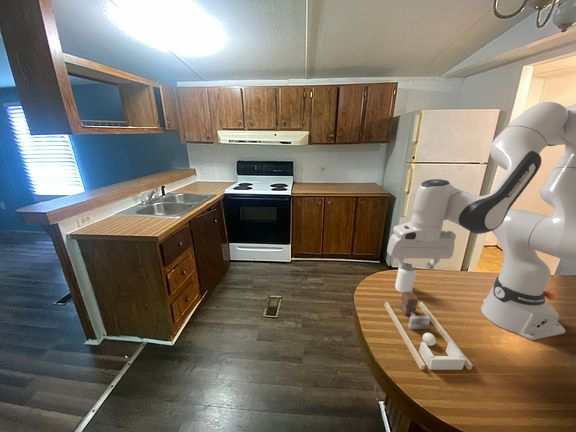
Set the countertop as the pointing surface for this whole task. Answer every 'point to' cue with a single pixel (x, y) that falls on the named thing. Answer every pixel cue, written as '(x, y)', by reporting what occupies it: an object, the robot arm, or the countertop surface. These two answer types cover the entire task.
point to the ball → (429, 339)
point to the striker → (413, 311)
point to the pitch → (409, 343)
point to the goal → (443, 358)
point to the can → (406, 278)
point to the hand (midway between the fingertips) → (415, 268)
